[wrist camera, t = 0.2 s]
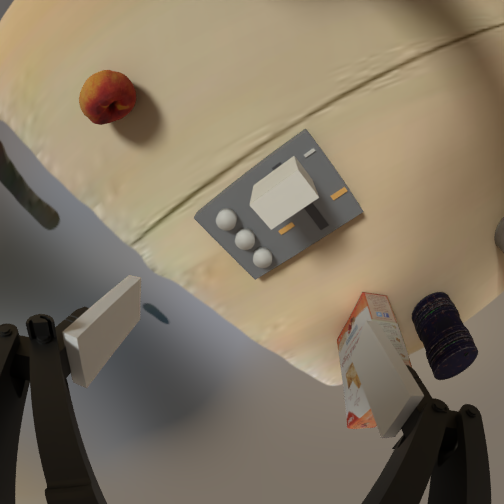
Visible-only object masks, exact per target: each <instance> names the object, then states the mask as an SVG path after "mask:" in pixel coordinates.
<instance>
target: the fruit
mask: <svg viewBox="0 0 504 504" xmlns="http://www.w3.org/2000/svg"><path fill="white" fill-rule="evenodd" d="M135 101H136V91H135V88H134V86H133V84H132V82H131V81H130V80H129V79H128V77H126V76H125V75H124V74H122V73H120V72H114V71H111V70H103V71H100V72H98V73H95V74H93V75H92V76H90V77H89V78H88V79H87V80H86V82H85V84H84V85H83V87H82V90H81V92H80V97H79V103H80V107H81V110H82V112H83V113H84V115H85V116H86V117H88V118H89V119H90V120H91V121H92V122H93V123H95V124H100V125H102V124H107V123H111V122H113V121H116V120H119V119H122V118H123V117H124V116H126V115H127V114H128V113H129V112H130V111H131V110H132V109H133V107H134V105H135Z"/></svg>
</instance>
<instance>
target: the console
mask: <svg viewBox="0 0 504 504" xmlns="http://www.w3.org/2000/svg"><path fill="white" fill-rule="evenodd" d="M293 156H295V157H296V159H297V160H298V161H299V163H300V164H301V165H302V166H303V168H304V169H305V170H306V172H307V173H308V174H309V176H310V177H311V178H312V180H313V183H314V185H315V188H316V191H317V193H318V196H319V198H318V199H316V200H315V201H313V202H312V203H310V204H309V205H307V206H306V207H304V208H303V209H301V210H300V211H298V212H297V213H295V214H294V215H292V216H291V217H289V218H288V219H287V220H285V221H284V222H282V223H281V224H279V225H278V226H276V227H275V228H273V229H272V230H271V229H270V228H269V227H268V226H267V225H266V223H265V222H264V221H263V220H262V219H261V218H260V217H259V215H258V214H257V213H256V212H255V211H254V210H253V209H252V208H251V207H250V200H251V195H252V190H253V185H255V184H256V183H257V182H259V181H260V180H261V179H263V178H264V177H265V176H267V175H268V174H270V173H271V172H272V171H274V170H275V169H276V168H278V167H279V166H280V165H282V164H283V163H285V162H286V161H287V160H289V159H290V158H292V157H293ZM362 212H363V210H362V209H361V207H360V205H359V204H358V202H357V201H356V199H355V198H354V196H353V194H352V193H351V191H350V190H349V188H348V187H347V185H346V184H345V182H344V181H343V179H342V178H341V176H340V175H339V174H338V172H337V171H336V169H335V168H334V166H333V165H332V164H331V162H330V161H329V159H328V158H327V157H326V155H325V154H324V152H323V151H322V150H321V148H320V147H319V146H318V144H317V143H316V142H315V140H314V139H313V138H312V136H311V135H310V134H309V132H308V131H307V130H306V129H304V130H303V131H301V132H300V133H299V134H297V135H296V136H294V137H293V138H292V139H290V140H289V141H287V142H286V143H285V144H283V145H282V146H281V147H279V148H278V149H277V150H275V151H274V152H273V153H271V154H270V155H268V156H267V157H266V158H264V159H263V160H262V161H261V162H259V163H258V164H257V165H255V166H254V167H253V168H251V169H250V170H249V171H247V172H246V173H245V174H244V175H242V176H241V177H240V178H238V179H237V180H236V181H235V182H233V183H232V184H231V185H230V186H228V187H227V188H226V189H225V190H223V191H222V192H221V193H220V194H218V195H217V196H216V197H215V198H213V199H212V200H211V201H210V202H209V203H207V204H206V205H205V206H204V207H203V208H201V209H200V210H199V211H198V212H197V213H196V215H195V216H194V219H195V220H196V221H197V222H198V223H199V224H200V225H201V226H202V227H203V228H204V229H205V230H206V231H207V232H208V233H209V234H210V235H211V236H212V237H213V238H214V239H215V240H216V241H217V242H218V243H219V244H220V245H221V246H222V247H223V248H224V249H225V250H226V251H227V252H228V253H229V254H230V255H231V256H232V257H233V258H234V259H235V260H236V261H237V262H238V263H239V264H240V265H241V266H242V267H243V268H244V269H245V270H246V271H247V272H248V273H249V274H250V275H251V276H252V277H253V278H254V279H255V280H256V279H257V278H259V277H261V276H262V275H264V274H265V273H267V272H269V271H270V270H272V269H274V268H275V267H277V266H278V265H280V264H282V263H283V262H285V261H287V260H288V259H290V258H291V257H293V256H295V255H296V254H298V253H299V252H301V251H303V250H304V249H306V248H307V247H309V246H311V245H312V244H314V243H315V242H317V241H319V240H320V239H322V238H323V237H325V236H326V235H328V234H330V233H331V232H333V231H334V230H336V229H337V228H339V227H341V226H342V225H344V224H345V223H347V222H348V221H350V220H351V219H353V218H355V217H356V216H358V215H359V214H361V213H362Z"/></svg>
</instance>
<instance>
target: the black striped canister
mask: <svg viewBox="0 0 504 504" xmlns="http://www.w3.org/2000/svg"><path fill="white" fill-rule="evenodd" d="M412 320H413V323H414V325H415V329H416V331H417V334H418V336H419V338H420V340H421V341H422V342H423V344H424V347H425V349H426V356H427V359H428V362H429V365H430V367H431V369H432V371H433V374H434V377H435V378H436V379H438V380H445V379H448V378H451V377H453V376H456V375H458V374H459V373H461V372H462V371H464V370H465V369H466V368H467V367H469V366H470V365H471V364H472V363H473V361H474V360H475V359H476V357H477V355H478V350H477V348H476V346H475V344H474V341H473V338H472V336H471V335H470V333H469V331H468V329H467V328H466V327H465V326H464V325H463V323H462V321H461V319H460V315H459V313H458V310H457V309H456V307H455V305H454V304H453V302H452V301H451V300H450V298H449V296H448V295H447V294H446V293H443V292H437V293H433V294H430V295H428V296H426V297H425V298H424V299H422V300H421V301H420V302H419V303H418V304H417V305H416V307H415V308H414V310H413V313H412Z"/></svg>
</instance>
